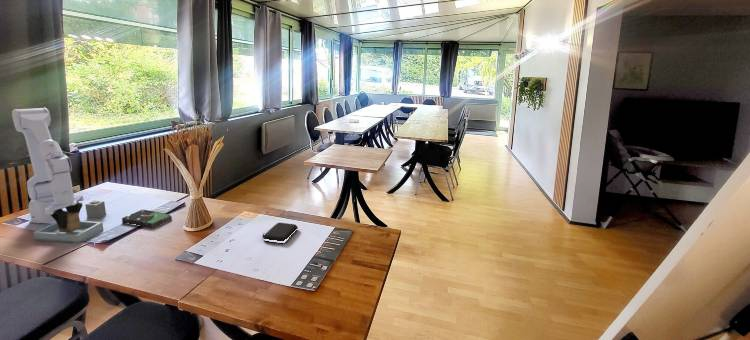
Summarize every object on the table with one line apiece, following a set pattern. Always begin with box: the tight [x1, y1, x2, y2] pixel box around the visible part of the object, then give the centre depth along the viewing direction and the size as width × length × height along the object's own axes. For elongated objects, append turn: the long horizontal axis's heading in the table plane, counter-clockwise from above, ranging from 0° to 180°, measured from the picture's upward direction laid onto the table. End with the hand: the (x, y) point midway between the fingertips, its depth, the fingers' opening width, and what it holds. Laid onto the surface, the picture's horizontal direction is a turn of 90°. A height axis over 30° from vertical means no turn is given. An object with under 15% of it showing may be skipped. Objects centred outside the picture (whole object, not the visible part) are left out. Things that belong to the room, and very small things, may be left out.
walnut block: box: [58, 212, 81, 233], centre depth 141 cm, size 4×4×6 cm
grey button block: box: [84, 200, 107, 220], centre depth 158 cm, size 4×4×6 cm
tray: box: [33, 220, 104, 245], centre depth 142 cm, size 16×12×3 cm
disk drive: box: [121, 209, 173, 229], centre depth 157 cm, size 10×3×15 cm
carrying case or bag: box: [261, 222, 299, 241], centre depth 151 cm, size 11×3×15 cm
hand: (68, 225), depth 141 cm, fingers closed on walnut block, 4 cm apart
